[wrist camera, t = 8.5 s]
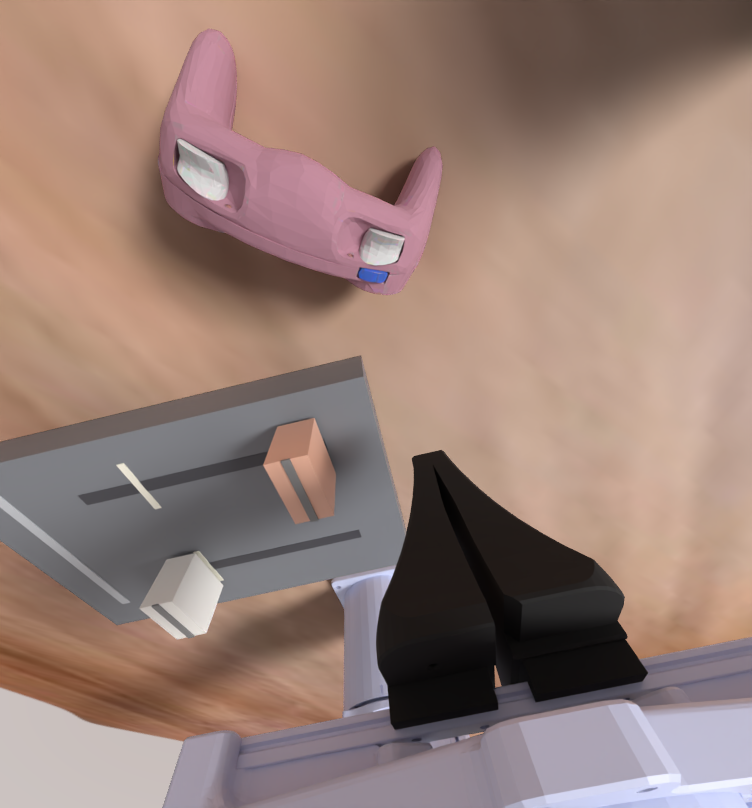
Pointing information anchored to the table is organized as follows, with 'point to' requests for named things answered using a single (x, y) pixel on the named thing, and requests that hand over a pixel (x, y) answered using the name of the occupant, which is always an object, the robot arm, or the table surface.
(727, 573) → the table surface
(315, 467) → the fader terracotta
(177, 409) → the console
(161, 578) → the fader white
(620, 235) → the table surface
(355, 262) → the video game controller
